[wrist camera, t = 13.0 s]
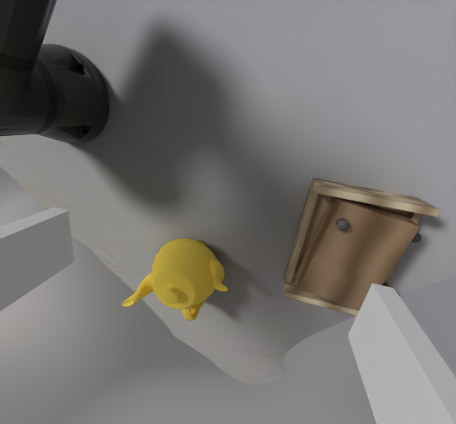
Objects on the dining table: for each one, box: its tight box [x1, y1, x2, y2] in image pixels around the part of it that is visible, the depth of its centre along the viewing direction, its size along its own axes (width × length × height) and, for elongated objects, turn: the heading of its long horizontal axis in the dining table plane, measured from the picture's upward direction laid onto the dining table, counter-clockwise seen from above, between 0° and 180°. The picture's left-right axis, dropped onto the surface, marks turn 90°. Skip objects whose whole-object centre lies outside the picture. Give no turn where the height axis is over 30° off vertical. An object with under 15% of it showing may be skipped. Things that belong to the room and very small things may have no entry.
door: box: [296, 196, 421, 310], centre depth 38 cm, size 11×16×6 cm
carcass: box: [284, 178, 441, 315], centre depth 39 cm, size 16×20×6 cm
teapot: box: [122, 239, 228, 321], centre depth 44 cm, size 20×15×12 cm
